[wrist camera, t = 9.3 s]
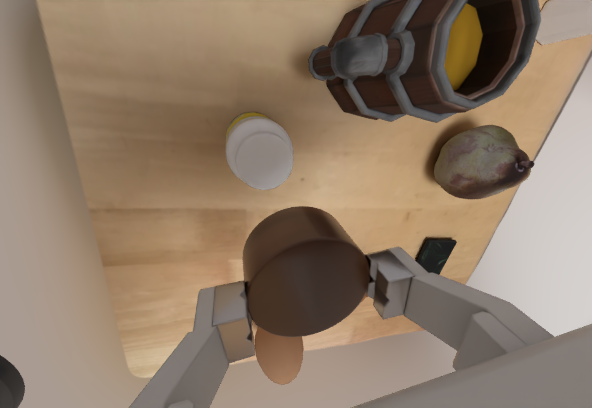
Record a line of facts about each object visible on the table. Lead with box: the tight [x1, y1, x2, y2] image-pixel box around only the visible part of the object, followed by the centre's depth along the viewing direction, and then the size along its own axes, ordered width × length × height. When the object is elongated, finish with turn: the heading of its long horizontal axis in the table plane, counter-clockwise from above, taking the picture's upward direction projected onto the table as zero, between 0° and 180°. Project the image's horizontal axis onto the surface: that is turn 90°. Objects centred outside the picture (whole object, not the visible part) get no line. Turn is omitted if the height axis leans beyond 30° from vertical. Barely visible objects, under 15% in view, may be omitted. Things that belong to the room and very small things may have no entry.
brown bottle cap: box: [243, 206, 370, 337], centre depth 10 cm, size 5×5×2 cm
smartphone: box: [416, 239, 457, 275], centre depth 47 cm, size 7×1×15 cm
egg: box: [255, 326, 303, 385], centre depth 38 cm, size 8×8×11 cm
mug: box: [308, 0, 541, 123], centre depth 22 cm, size 16×12×15 cm
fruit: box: [434, 125, 534, 199], centre depth 32 cm, size 10×9×12 cm
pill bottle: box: [226, 112, 293, 190], centre depth 24 cm, size 6×6×11 cm
